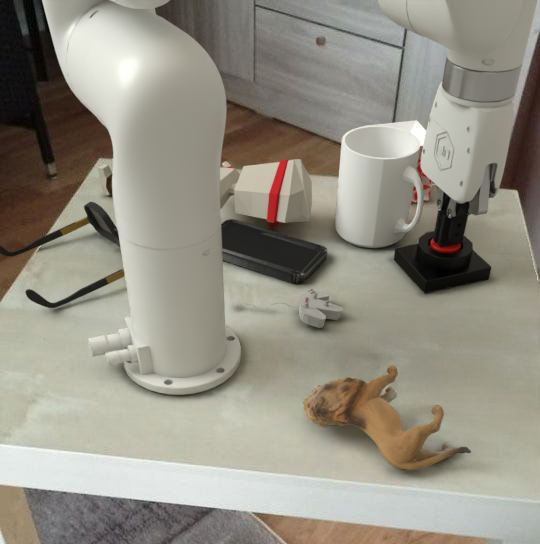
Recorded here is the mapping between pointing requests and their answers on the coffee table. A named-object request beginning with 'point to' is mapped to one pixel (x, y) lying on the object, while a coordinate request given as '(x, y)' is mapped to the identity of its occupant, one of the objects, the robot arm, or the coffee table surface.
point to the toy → (258, 190)
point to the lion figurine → (377, 419)
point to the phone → (270, 251)
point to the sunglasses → (94, 217)
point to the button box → (441, 265)
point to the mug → (377, 186)
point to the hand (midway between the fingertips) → (447, 241)
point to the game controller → (316, 308)
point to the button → (445, 249)
